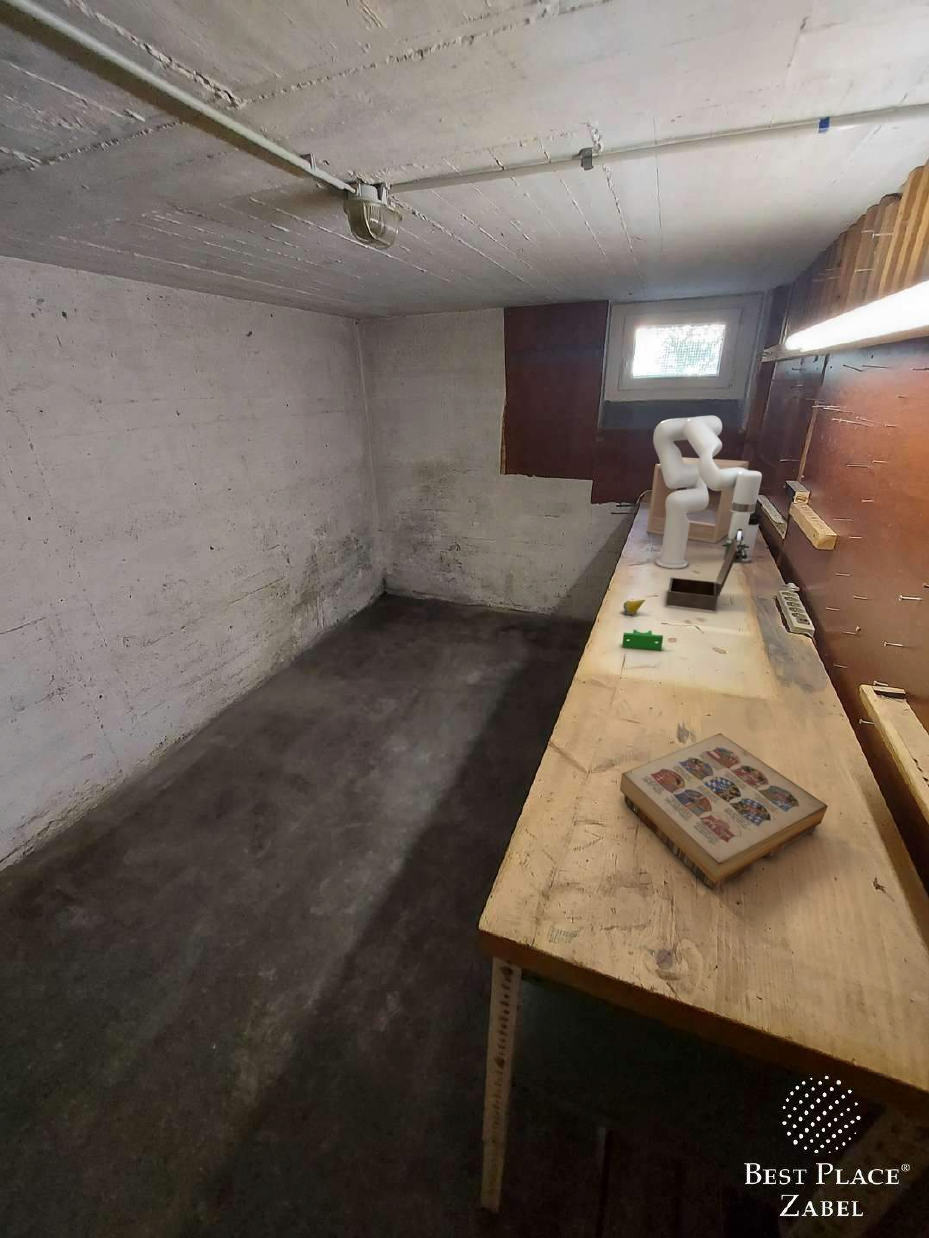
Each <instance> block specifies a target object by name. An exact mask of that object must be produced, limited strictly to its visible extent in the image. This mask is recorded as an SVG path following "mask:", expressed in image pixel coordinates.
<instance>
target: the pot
mask: <svg viewBox="0 0 929 1238" xmlns="http://www.w3.org/2000/svg"><path fill="white" fill-rule="evenodd" d="M732 541H733V540H729V539H727V540H725V543H722V544H721V547H724V548H725V549H724V554H723V561H724V560H725V558H726V555H727V553H728V551H729V548H730V546H731V543H732ZM745 545H746V542H745V541H742V543H741V550H742V549H744V548H749V546H745ZM740 554H741V552H740ZM741 561H742V557H739V559H735V560H734V563H733V564H739V563H740V562H741ZM740 564H741V563H740Z"/></svg>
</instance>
